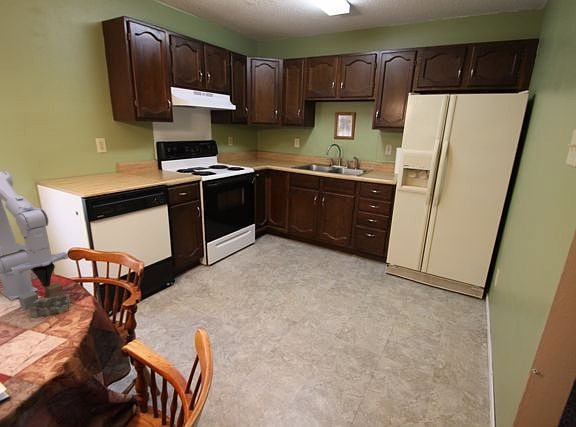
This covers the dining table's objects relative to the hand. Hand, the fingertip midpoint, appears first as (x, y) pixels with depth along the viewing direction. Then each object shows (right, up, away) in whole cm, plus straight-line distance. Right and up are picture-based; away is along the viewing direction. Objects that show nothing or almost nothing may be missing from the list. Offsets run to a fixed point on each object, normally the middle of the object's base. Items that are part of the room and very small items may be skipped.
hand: (46, 285), depth 101 cm
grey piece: (0, -9, +3) cm, 10 cm away
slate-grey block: (-9, -8, +5) cm, 13 cm away
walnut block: (-5, -6, +11) cm, 14 cm away
